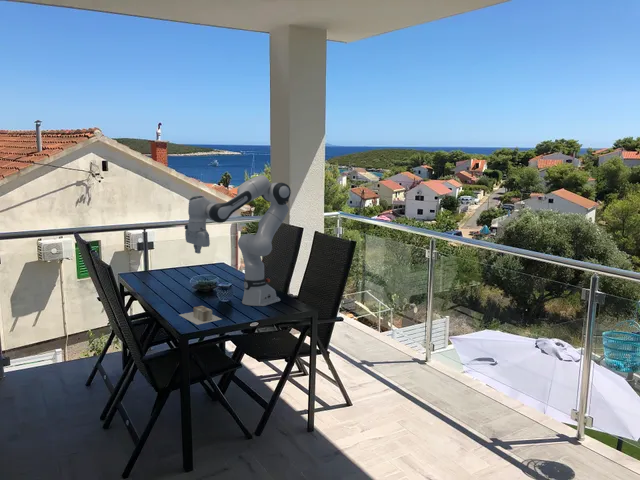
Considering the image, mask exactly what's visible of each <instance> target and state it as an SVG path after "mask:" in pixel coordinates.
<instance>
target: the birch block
mask: <svg viewBox="0 0 640 480" xmlns="http://www.w3.org/2000/svg"><path fill="white" fill-rule="evenodd" d="M193 312H194V317H195V318H197V319H199V320H201V321H203V322H204V321H209V320H212V314H213V309H211V308H208V307H206V306H204V305H199V306H194V307H193Z"/></svg>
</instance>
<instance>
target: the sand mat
mask: <svg viewBox="0 0 640 480" xmlns="http://www.w3.org/2000/svg"><path fill="white" fill-rule="evenodd" d="M179 317H182V318H184V319H185V320H187V321H189V322H191V323H193V324H195V325H197V326H199V325H203V324H208V323H211V322H217V321H220V320H223V318H220V317H219V316H217V315H215V314H213V313H212V320H209V321H204V322H203V321H201V320H199V319H197V318H195V317H194V311H190V312H185V313H181V314H179Z"/></svg>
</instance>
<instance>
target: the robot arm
mask: <svg viewBox="0 0 640 480" xmlns="http://www.w3.org/2000/svg"><path fill="white" fill-rule="evenodd" d="M236 193H237V195H236V196H234V197H233V198H231V199H230V200H227V202H215V201H212V200H210V199H208V198H206V197H204V196H202V195H196V196H192V197H191V198H189V201H188V209H187V210H188V211H187V212H188V217H189V218H188V223H187V224H184V230H185V233H184V234H185V235H184V237H185V242H186V243H189V244H192V245H193V248H194V253H195V254H201V252H202V251H201V250H202V248H207V247H208V248H209V247H210V245H211V243H210V241H211V240H210V233H209V232H208V231H207V220H209V221H211V222H212V221H213V222H215V223H218V224H221V223H225V222H227V221H228V219H230V217H231V216H232V214H233V213H235V212H236V211H238V210H239V209H241V208H242V207H244V206H246V205H247V204H248V203H251V202H252V201H254V200H256V199H258V198H260V197H262V199H263V200H265V201H266V202H269V203H270V205H269V208H268V209H267V211H266V212H265V213H264V214H263V216H262V217H261V219H259V221H258V224H257V225H258V226H257V227H258V229H257V231H256V233H255V234H251V233H245V234H242V235H241V236H239V237H238V240H237V245H238V248H239V250H240V252H241V255H242V259H243V264H244V278H243V287H244V290H243V291H244V292H243V296H242V300H241V303H242V304H243V305H246V306H252V307H253V306H255V307H256V306H257V307H265V306H268V305H272V304H275V303H278V302H280V301H281V298H280V297H279V296H277V292H276V289H274V288H273V287H272V286H270V284H268V283H270V282H271V279H270V278H268V277H267V278H265V264H264V262H263V260H262V258H261V257H266V256H268V255H270V254H271V252H272V250H273V244H272V242H273V238H274V236H275V234H276V232H278V230H279V228H280V227H281V225H282V223H284V220H285V218H286V217H287V214H288V213H289V206H288V204H287V203H288V202H290V201H289V198H290V197H291V193H292V191H291V188H290V186H289V185H288V184H287V183H285V182H270V180H269V178H268V177H267V176H265V175H262V174H261V175H257V176H254V177H252V178H250V179H248V180H246V181H244V182H242V183H241V184H240V185H239V186H238V187H237V190H236Z"/></svg>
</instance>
